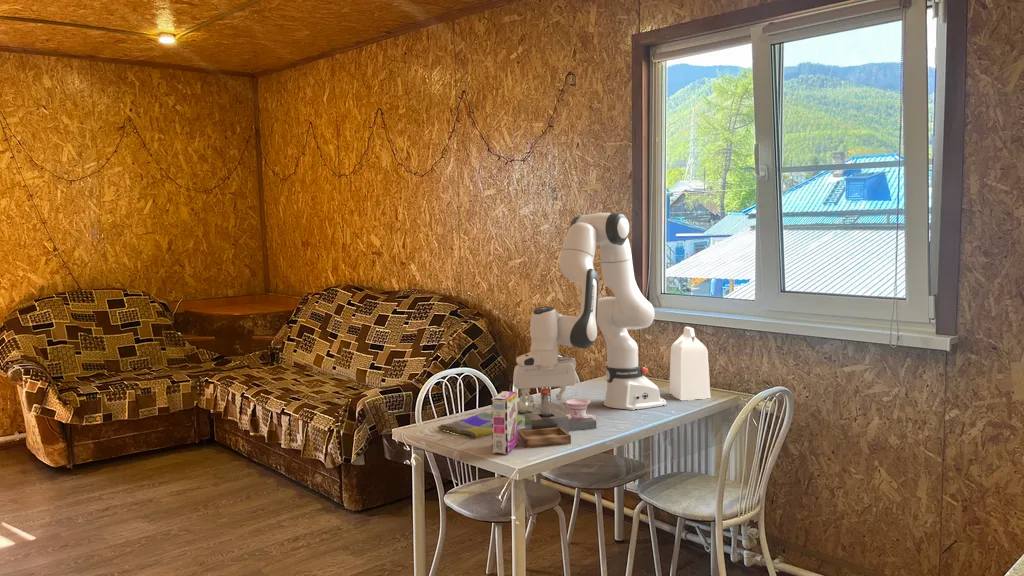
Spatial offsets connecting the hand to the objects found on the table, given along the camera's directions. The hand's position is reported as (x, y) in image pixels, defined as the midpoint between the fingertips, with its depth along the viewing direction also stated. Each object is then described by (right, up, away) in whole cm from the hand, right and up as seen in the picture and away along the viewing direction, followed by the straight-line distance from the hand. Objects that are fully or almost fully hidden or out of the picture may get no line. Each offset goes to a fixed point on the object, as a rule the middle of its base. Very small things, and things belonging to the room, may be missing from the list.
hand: (545, 400), depth 247 cm
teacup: (+12, -9, +15) cm, 21 cm away
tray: (-1, -11, -11) cm, 15 cm away
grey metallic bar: (0, -10, +1) cm, 10 cm away
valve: (-6, -8, +25) cm, 27 cm away
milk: (+56, -5, +44) cm, 71 cm away
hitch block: (+5, -9, +2) cm, 11 cm away
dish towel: (-21, -11, +7) cm, 25 cm away
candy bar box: (-12, -12, -18) cm, 25 cm away
